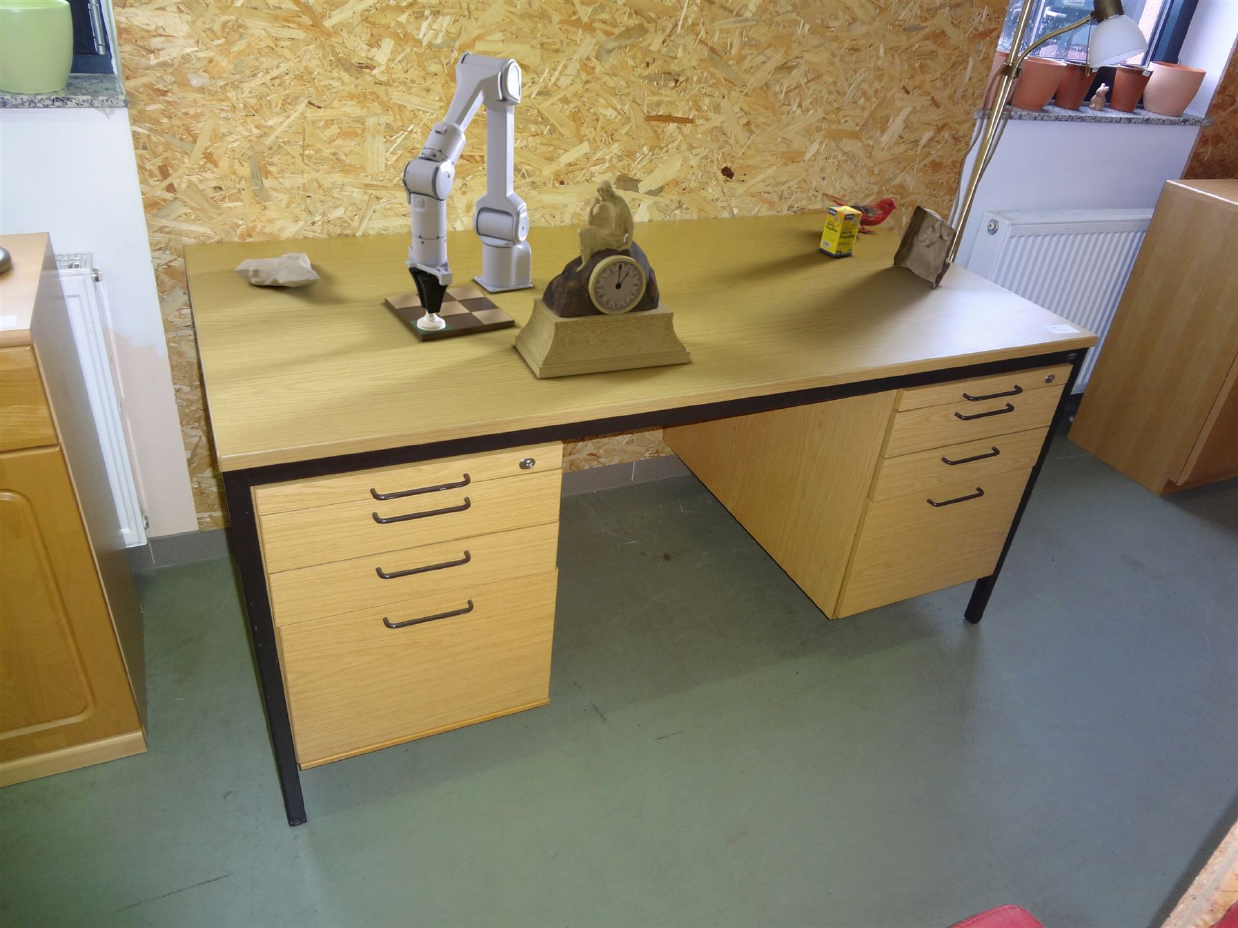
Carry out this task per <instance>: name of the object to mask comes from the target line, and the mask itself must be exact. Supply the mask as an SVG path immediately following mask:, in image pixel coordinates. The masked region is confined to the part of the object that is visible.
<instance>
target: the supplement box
mask: <svg viewBox="0 0 1238 928" xmlns="http://www.w3.org/2000/svg"><path fill="white" fill-rule="evenodd" d="M848 206H849V205H847V206H843V207H841V206H829V207H828V209H827V214H826V218H825V222H824V227H823V232H822V235H821V239H820V244H819V251H821V252H823V253H825V254H827V255H828V256H831V257H833V258H837V257H849V256H850V257H851V256H852V254H853V251H854V246H855V242H856V239H857V235H858V230H859V229H858V228H859V227H860V224H859V222H860V218H861V215H862V212H859V211H857V210H855V209H852V208H850V207H848Z"/></svg>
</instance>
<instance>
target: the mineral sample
mask: <svg viewBox="0 0 1238 928" xmlns="http://www.w3.org/2000/svg"><path fill="white" fill-rule="evenodd" d="M957 233H958V231H957V229H955V228H954V227H952V226H951V224H948V223H946V222H945V219H944V218H943V217H942V216H940V214H938V213H937V212H936V211H934V210H932V209H929V208H925V207H922V206H921V205H916V206H915V209H914V210H913V212H912V216H910V219H909V223H908V225H907V226H906V227H905V230H904V231H903V235H902V236H901V237H900V244H899V246H898V248H897V250H896V252H895V254H894V257H893V263H892V266H893V267H895V266H901V267H906V268H908V269H909V270H910V271H911V272H913V273H914V274H916V275H917V276H919V277H920V278H923V279H925V280H928V281H929V282H931V283H933V286H932V287H933V289H935V288H936V287H938V286H939V285H940V283H941V282H942V280H943V278H944V276H945V275H946V274H947V272H948V270H949V269H950V267H951V263H950V261H949V259H948V257H949V254H950V251H951V249H952V248H953V246H954V243H955V240H956V238H957V237H956V236H957Z"/></svg>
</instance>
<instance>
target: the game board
mask: <svg viewBox="0 0 1238 928" xmlns="http://www.w3.org/2000/svg"><path fill="white" fill-rule="evenodd" d="M384 304H385V305H386V307H388V308H389V309H390V310H391V312H392V313H393V314H394V315H396V316H397V318H398V319H400V320H401V322H403V324H405V326H407V328H408V329H409V330H410V331H411V332H412V333H413V334H414V335H415V336H416V337H417V338H418V339H419V340H420V341H421V342H425V341H431V340H438V339H444V338H450V337H451V338H452V337H457V336H462V335H469V334H476V333H482V332H487V331H494V330H499V329H500V330H501V329H506V328H511V327H515V319H513V318H512V317H511V316H510V315H508V313H506V312H505V311H504V310H502V309H501V308H500V307H499V306H497V305H496V304H495V303H494V302H493V301H491V300H490V299H489V298H488V297H486V296H485V295H484V294H483V293H482V292H481V291H479V290H478V289H477V288H475V287H474V286H473V285H468V286H462V287H454V288H447V289H446V292H445V294H444V298H443V302H442V306H441V310H440V312H439V313H435V314H436V315H437V317H439V318H442V319H443V320H444V321H445V327H444V328H443V329H441V330H437V331H426V330H422V329H420V328H418V327H417V321H418V320H419V319H420V318H422V317H424V316H425V315H426V311H427V309H423V308H422V306H421V302H420V299H419V295H418V293H408V294H400V295H393V296H386V297H384Z"/></svg>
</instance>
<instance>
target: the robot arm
mask: <svg viewBox="0 0 1238 928" xmlns="http://www.w3.org/2000/svg"><path fill="white" fill-rule="evenodd" d="M455 81H456V82H455V83H456V88H455V91H454V94H453V97H452V100H451V102H450V105H449V107H448V110H447V113H446V115H445V118H444V120H443V121H438V122H435V124H434V125H433V127H432V129H431V130H430V133H429V134H428V137H427V138H426V140H425V142H424V144H423V146H422V148H421V150H420V152H419V154H418V156H417V157H414V158H413V159H410V160H409V161H408V162H406V163H405V166H404V169H403V174H402V177H401V184H402V187H403V189H404V191H405V194H406V203H407V204H408V205H409V206H410V224H411V226H410V227H411V229H410V230H411V245H409V246H408V247H407V250H408V251H407V252H408V258H407V259H406V260H405V265H406V266H407V267H408V272H409V274H410V276H411V277H412V279H413V282H414V285H415V287H416V291H417V294H418V295H419V299H420V302H421V306H422V308H423V309H427V312H428V313H429V314H433V313H439V312H440V310H441V306H442V302H443V298H444V294H445V292H446V289H448V287H449V286H450V285H453V279H454V278H453V277H454V276H453V272H452V270H451V268H450V263H449V259H448V254H447V252H448V251H447V250H448V246H447V245H448V244H447V198H448V197H449V195H450V194H451V193H452V190H453V185H454V178H455V175H456V170H455V166H456V164H457V162H458V160H459V158H460V156H461V154H462V151H463V150H464V148H465V146H466V144H467V139H466V135H465V134H464V132H465V131H466V129H467V128H468V126H469V125H470V123H471V121H472V120H473V118H474V117H475V115H476V113H477V112H478V110H479V109H480V107H481V106H482V105H483V106H484V107H485V109H486V192H485V193H483V194H482V195H480V196H479V197H478V198H477V199H476V201H475V207H474V209H475V210H474V214H473V218H472V226H473V230H474V233H475V234H476V236H478V239H479V242H482V257H481V258H482V260H481V261H482V262H481V263H482V264H481V268H482V269H481V272H482V274H481V275H479V276H475V277H474V280H475V282H477V283H478V284H479V285H480V286H482V287H483V288H485V289H486V290H487V291H488V292H489V293H497V292H498V293H499V292H506V291H513V290H518V289H519V290H521V289H527V288H528V289H529V288H532V287H533V284H532V283H531V282H532V281H531V278H532V250H531V246H530V244H529V242H528V241H527V240H526V239H527V236H528V234H529V230H530V219H529V216H528V208H527V203H526V202H525V201H524V200H523V199H522V198H521V197H520V196H519V195H518V194H517V193H516V192H515V191H514V160H515V159H514V158H515V157H514V154H515V153H514V150H515V149H514V147H515V146H514V145H515V106H516V105H520V104H521V97H522V69H521V67H520V66H519V64H518V62H517V61H516V60H515V59H514V58H503V57H497V56H492V55H491V56H490V55H484V54H478V53H472V52H470V51H464V52H463V53H462V54H461V55H460V57H459V59H458V61H457V64H456V67H455Z"/></svg>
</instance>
